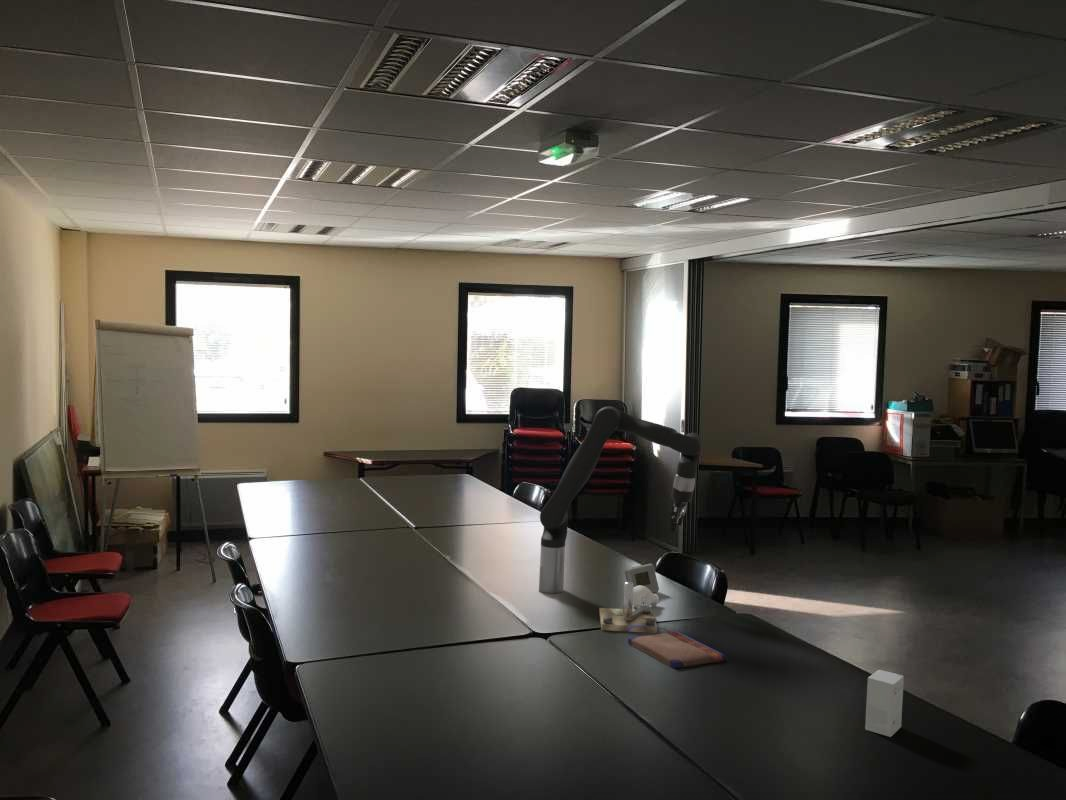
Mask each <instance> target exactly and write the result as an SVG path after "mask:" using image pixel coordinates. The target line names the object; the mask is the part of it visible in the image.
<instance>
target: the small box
mask: <svg viewBox="0 0 1066 800" xmlns="http://www.w3.org/2000/svg"><path fill="white" fill-rule="evenodd" d="M904 678H905V677H904V675H903V674H898V673H894V672H891V671H886V670H882V669H877V670H876V671H874V672H873V673H872V674H871V675H869V676H868V677H867V683H866V684H867V685H866V686H867V687H866V703H865V705H866V707H865V725H864V729H865V731H868V732H872V733H876V734H880V735H883V736H886V737H887V738H888V737H889V738H891V737H892V736H893V735H895V734H896V733H897V732H898V731H899V730H900V729H901V728H902V718H903V717H902V715H903V713H902V712H903V699H904V698H903V697H904V680H905V679H904Z"/></svg>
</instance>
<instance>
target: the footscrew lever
mask: <svg viewBox="0 0 1066 800" xmlns="http://www.w3.org/2000/svg"><path fill="white" fill-rule="evenodd" d="M622 609H623V617H624V619H625V620H629V621H631V620H632V619H634V618H636V617H638V616H640V615H641V614H643V613H650V612H651V610H652V606H650V605H649V606H646V604H645V605H643V604H642V605H639V606H637V607H636V609H633V582H627V581H624V584H623V605H622ZM632 610H634V611H632Z"/></svg>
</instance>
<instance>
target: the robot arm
mask: <svg viewBox="0 0 1066 800" xmlns="http://www.w3.org/2000/svg"><path fill="white" fill-rule="evenodd" d="M615 431H617V432H623V433H627V434H631V435H635V436H637V437H639V438H641V439H643V440H645V441H648V442H651V443H653V444H657V445H660V446H663V447H668V448H669V449H672V450H674V451H676V452H677V453H679V454H680V457H679V460H678V464H677V467H676V473H675V476H674V480H673V484H672V490H671V494H670V497H671V498H672V500H674V501H675V503H673V505H672V506H671V507H672V508H671V512H670V517H669V522H670V525H669V532H671V533H676V532H677V529H678V526H680V527H681V526H682V525H683V521H684V517H685V514H686V513H687V509H688V503H691V502H692V500H693V496H694V495H693V494H694V490H695V485H696V476H697V472H698V463H699V459H700V455H701V452H702V446H703V439H702V437H701V436H700V435H699V434H698V433H696V432H690V433H687V434H683V433H680V432H678V431H677V430H676V429H675V428H672V427H670V426H666V425H662V424H659V423H655V422H652V421H648V420H644V419H642V418H638V417H635V416H633V415H630V414H628V413H626V412H624V411H622V410H620V409H618V408H616V407H614V406H611V405H608V406H604V407H601V408H600V409H598V410H597V412H596V413H595V416H594V418H593V421H592V423H591V426H590V428H589V430H588V431H587V433H586V436H585V437H584V439H583V440H582V442H581V443H580V445H579V446H578V448H576V451H574V454H573V456H572V457H571V459H570V460H569V461H568V464H567V466H566V468H565V469H564V472H563V474H562V476H561V478H560V479H559V482H558V484H557V487H556V489H555V490H554V492H553V494H552V495H551V497H550V498H549V499H548V501H547V502H546V503H545V504H544V506H543V508H542V509H541V510H540V513H539V521H540V524H541V525H542V526H543V530H542V531H543V532H542V535H541V539H540V556H539V557H540V558H539V559H540V560H539V561H540V562H539V577H538V578H539V581H538V592H539V593H540V592H542V593H546V594H560V593H563V592H564V589H565V588H564V586H565V585H564V584H565V563H566V562H565V561H566V559H565V558H566V555H565V554H566V540H567V536H568V525H569V523H568V522H569V513H568V509H569V507H570V505H571V503H572V501H573V500H574V498H575V497H576V496H577V495H578V494H579V493H580V491H581V490H582V488H584V486H585V484H586V483H587V482H588V481H589V479H590V478H591V475H592V474H593V472H594V470H595V468H596V466H597V464H598V461H599V459H600V456H601V452H602V450H603V448H604V446H605V444H606V443H607V441H608V440H609V438H610V437H611V436H612V434H613V432H615ZM674 517H675V518H674Z"/></svg>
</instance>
